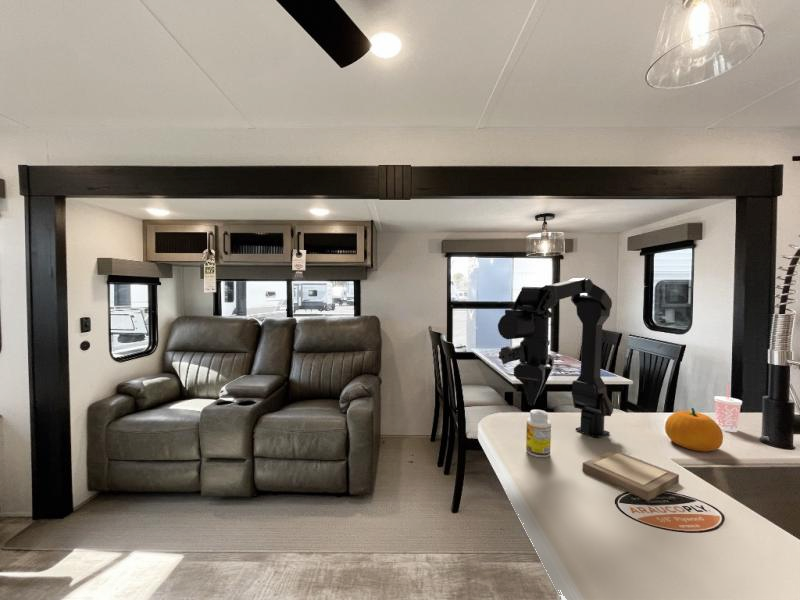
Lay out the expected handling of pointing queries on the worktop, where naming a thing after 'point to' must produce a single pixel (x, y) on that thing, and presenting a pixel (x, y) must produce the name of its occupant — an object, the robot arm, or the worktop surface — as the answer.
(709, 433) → the fruit
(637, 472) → the brown picture frame
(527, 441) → the supplement bottle
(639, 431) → the worktop surface
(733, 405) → the beverage cup
